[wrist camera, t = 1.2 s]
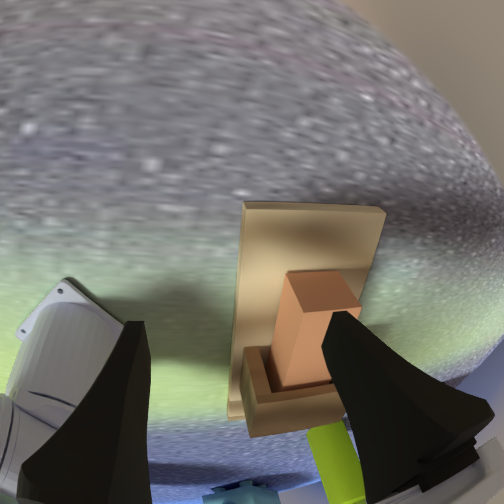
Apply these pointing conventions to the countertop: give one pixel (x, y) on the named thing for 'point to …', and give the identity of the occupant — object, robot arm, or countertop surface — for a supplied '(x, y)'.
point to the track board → (292, 266)
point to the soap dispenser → (337, 463)
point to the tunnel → (283, 402)
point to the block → (306, 328)
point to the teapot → (243, 495)
